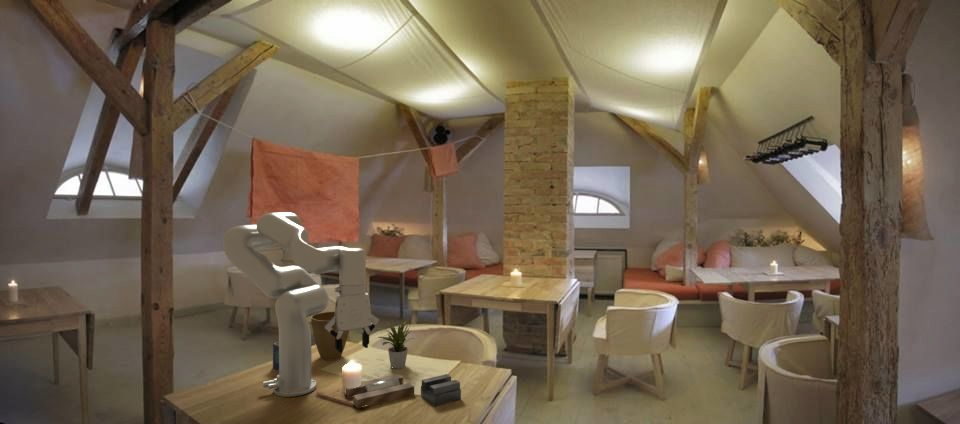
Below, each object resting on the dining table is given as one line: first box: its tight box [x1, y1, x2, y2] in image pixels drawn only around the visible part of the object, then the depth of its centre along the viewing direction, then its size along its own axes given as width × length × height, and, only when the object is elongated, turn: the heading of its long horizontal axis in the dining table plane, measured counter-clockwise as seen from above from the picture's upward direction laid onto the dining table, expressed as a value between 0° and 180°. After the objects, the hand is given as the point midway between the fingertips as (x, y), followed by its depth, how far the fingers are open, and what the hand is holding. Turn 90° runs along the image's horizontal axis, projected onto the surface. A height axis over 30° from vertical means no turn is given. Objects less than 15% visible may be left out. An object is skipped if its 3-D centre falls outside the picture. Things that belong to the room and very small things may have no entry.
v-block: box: [420, 373, 462, 407], centre depth 141 cm, size 9×9×5 cm
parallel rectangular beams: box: [345, 373, 415, 410], centre depth 143 cm, size 18×12×3 cm, turn 123°
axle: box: [365, 378, 400, 393], centre depth 143 cm, size 10×4×4 cm, turn 123°
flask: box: [272, 341, 279, 372], centre depth 163 cm, size 9×3×11 cm, turn 68°
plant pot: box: [310, 311, 350, 361], centre depth 176 cm, size 15×15×16 cm
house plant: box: [377, 320, 416, 369], centre depth 168 cm, size 14×14×16 cm
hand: (352, 348), depth 138 cm, fingers open, 7 cm apart
